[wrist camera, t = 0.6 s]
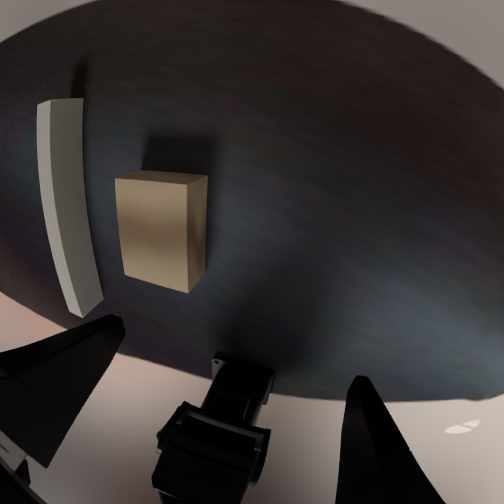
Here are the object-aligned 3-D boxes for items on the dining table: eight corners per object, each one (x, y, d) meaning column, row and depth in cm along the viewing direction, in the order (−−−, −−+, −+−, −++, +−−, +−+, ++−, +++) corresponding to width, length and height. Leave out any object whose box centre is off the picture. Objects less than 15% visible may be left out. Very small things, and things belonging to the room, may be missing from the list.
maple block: (206, 270, 23) (188, 293, 20) (147, 256, 24) (125, 274, 21) (209, 175, 19) (186, 184, 16) (142, 169, 20) (114, 178, 17)
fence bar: (103, 298, 28) (82, 318, 24) (90, 293, 28) (69, 311, 25) (83, 97, 18) (50, 99, 14) (68, 101, 18) (37, 104, 15)
